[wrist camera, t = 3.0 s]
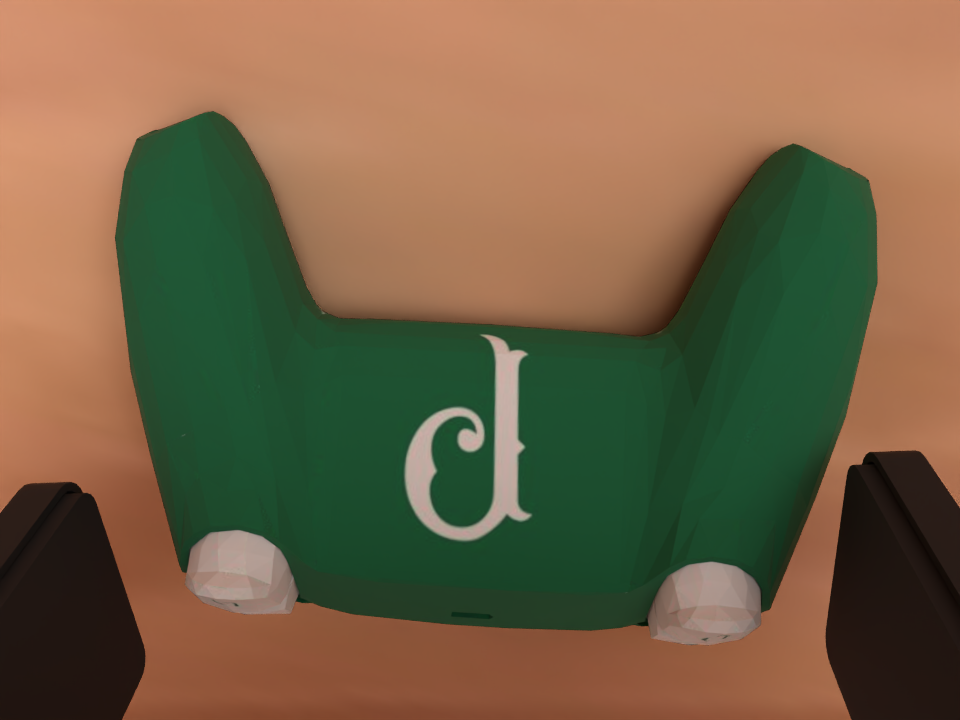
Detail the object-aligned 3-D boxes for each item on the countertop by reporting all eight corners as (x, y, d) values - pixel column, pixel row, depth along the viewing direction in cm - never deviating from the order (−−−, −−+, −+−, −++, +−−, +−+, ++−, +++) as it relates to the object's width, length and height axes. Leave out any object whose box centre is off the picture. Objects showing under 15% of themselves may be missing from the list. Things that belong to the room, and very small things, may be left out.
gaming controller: (208, 215, 15) (145, 606, 13) (114, 79, 11) (12, 600, 9) (792, 249, 14) (804, 651, 13) (897, 123, 11) (932, 663, 9)
